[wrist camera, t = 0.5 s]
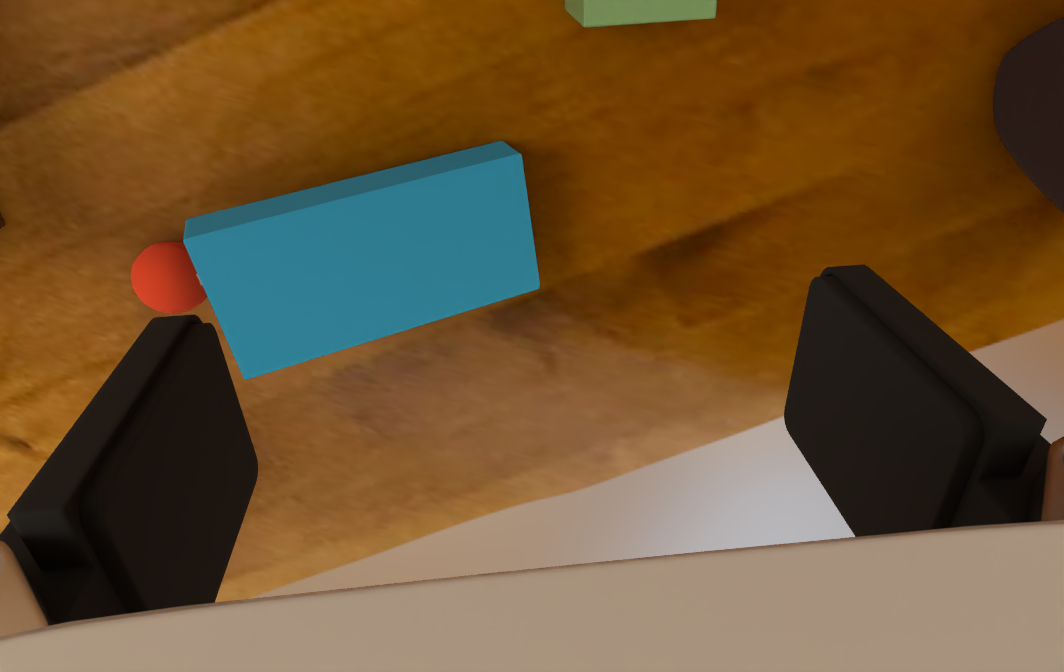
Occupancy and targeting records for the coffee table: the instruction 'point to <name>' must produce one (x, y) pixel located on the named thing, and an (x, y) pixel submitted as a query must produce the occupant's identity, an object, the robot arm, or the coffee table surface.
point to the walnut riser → (1, 222)
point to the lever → (352, 257)
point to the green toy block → (638, 11)
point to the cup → (1035, 108)
